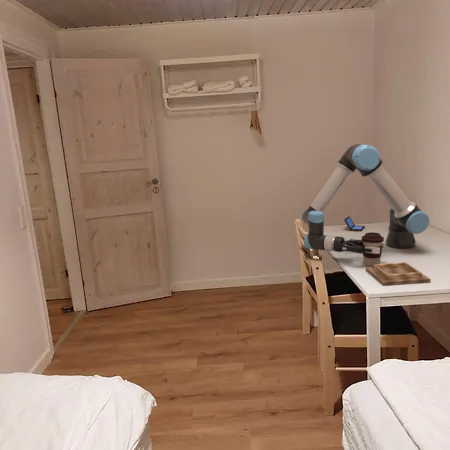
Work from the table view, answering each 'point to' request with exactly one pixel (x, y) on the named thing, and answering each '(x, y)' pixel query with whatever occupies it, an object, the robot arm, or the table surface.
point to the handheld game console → (352, 226)
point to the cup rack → (396, 274)
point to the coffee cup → (372, 241)
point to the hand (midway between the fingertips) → (382, 248)
